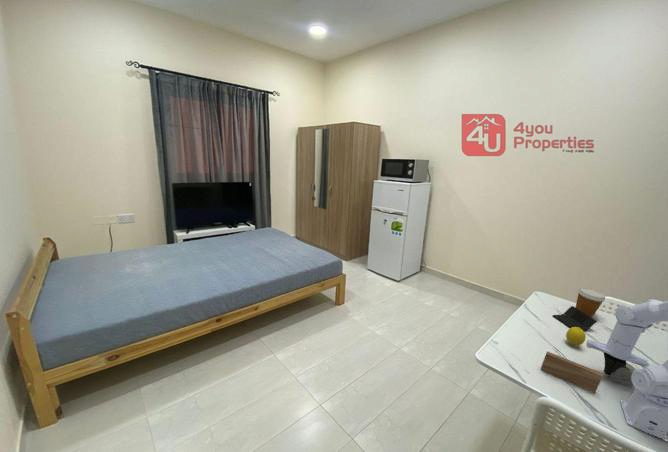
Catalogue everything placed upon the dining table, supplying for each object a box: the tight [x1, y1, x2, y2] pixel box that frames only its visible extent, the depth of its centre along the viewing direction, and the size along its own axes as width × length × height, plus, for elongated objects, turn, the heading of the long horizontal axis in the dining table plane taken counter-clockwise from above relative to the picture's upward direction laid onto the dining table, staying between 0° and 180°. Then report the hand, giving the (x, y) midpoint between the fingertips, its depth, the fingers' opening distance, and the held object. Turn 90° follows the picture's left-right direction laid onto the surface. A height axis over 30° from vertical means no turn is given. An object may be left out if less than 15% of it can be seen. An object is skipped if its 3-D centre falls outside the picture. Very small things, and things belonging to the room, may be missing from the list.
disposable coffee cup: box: [575, 286, 606, 318], centre depth 127 cm, size 10×10×12 cm
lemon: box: [565, 327, 586, 346], centre depth 107 cm, size 6×6×8 cm
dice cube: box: [609, 363, 636, 388], centre depth 92 cm, size 5×5×5 cm
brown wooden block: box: [540, 351, 604, 394], centre depth 90 cm, size 2×14×7 cm, turn 54°
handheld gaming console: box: [552, 305, 598, 333], centre depth 121 cm, size 12×7×10 cm
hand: (606, 373), depth 93 cm, fingers closed
